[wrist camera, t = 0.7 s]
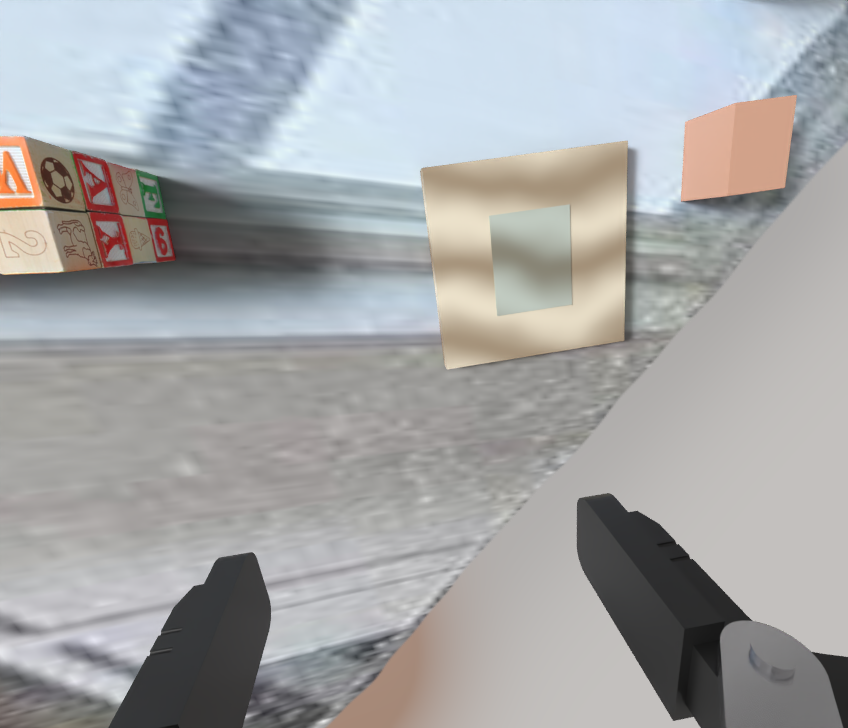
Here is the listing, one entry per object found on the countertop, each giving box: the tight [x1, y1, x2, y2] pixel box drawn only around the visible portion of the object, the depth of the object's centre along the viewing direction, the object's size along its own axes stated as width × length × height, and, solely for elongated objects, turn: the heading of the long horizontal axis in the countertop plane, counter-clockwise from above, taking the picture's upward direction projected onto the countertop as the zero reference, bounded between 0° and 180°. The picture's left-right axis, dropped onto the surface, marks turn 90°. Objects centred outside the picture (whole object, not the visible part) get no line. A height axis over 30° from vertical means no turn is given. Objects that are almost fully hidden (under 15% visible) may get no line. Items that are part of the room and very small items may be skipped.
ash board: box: [420, 141, 628, 369], centre depth 34 cm, size 16×16×2 cm
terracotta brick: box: [681, 95, 797, 201], centre depth 32 cm, size 6×4×5 cm
